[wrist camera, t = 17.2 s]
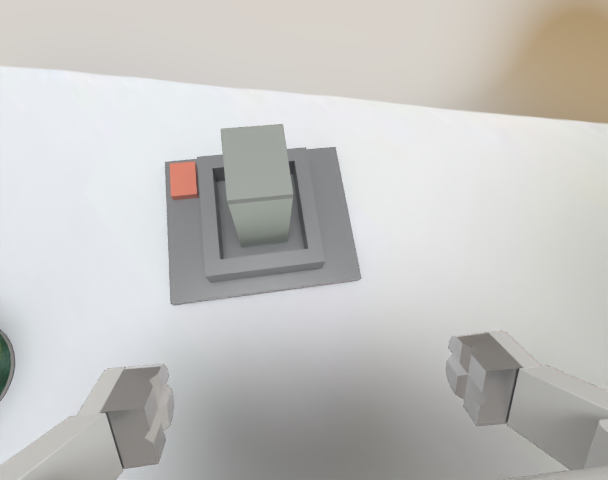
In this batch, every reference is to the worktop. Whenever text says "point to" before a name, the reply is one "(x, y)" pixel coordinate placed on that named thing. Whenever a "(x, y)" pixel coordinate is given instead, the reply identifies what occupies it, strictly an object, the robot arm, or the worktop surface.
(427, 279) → the worktop surface
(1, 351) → the canned tomato
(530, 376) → the robot arm
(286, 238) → the plug block
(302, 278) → the socket plate
